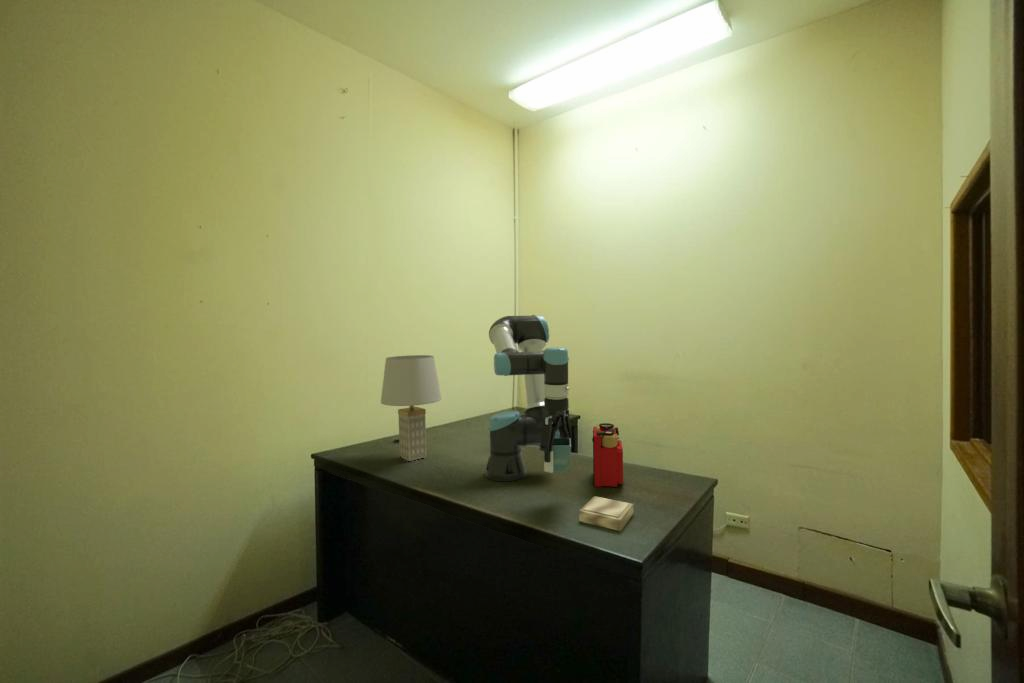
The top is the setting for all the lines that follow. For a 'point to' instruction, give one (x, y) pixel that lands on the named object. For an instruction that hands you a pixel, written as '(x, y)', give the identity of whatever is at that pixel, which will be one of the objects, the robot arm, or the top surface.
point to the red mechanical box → (607, 456)
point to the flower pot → (561, 454)
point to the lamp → (411, 398)
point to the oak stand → (606, 513)
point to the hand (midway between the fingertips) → (557, 465)
